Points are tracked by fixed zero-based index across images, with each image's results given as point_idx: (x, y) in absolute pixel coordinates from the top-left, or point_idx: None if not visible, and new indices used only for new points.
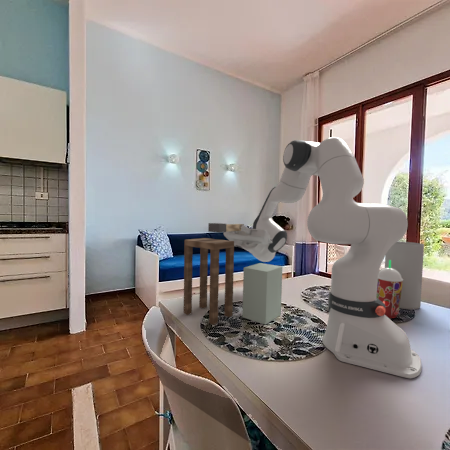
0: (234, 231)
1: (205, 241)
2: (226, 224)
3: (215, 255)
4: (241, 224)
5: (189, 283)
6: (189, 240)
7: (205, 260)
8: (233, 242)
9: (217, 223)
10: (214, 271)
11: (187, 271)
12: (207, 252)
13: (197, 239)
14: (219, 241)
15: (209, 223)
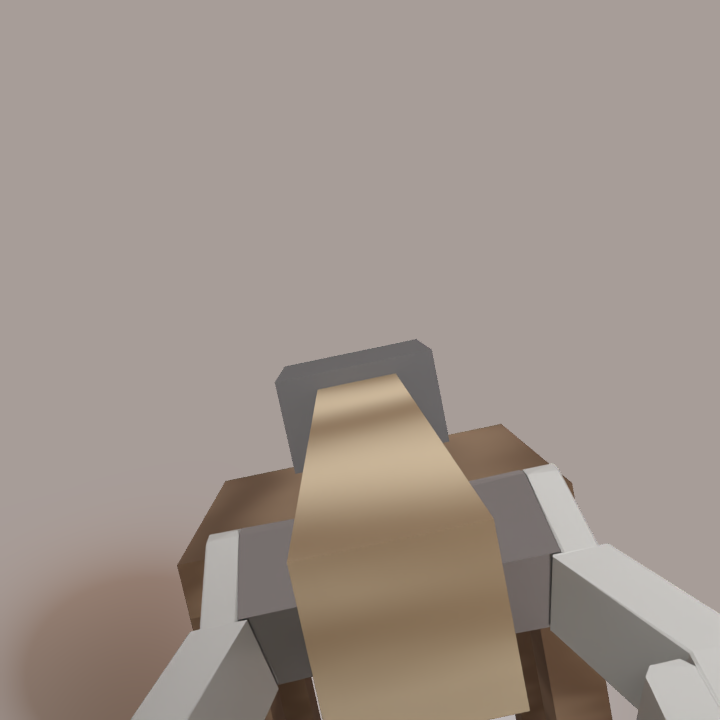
0: (626, 698)
1: None
2: (371, 399)
3: None
4: (296, 522)
5: (518, 717)
6: (452, 434)
7: (544, 687)
8: (182, 572)
9: (346, 359)
10: None
11: None
12: (538, 630)
13: (478, 453)
14: (267, 505)
15: (403, 343)
